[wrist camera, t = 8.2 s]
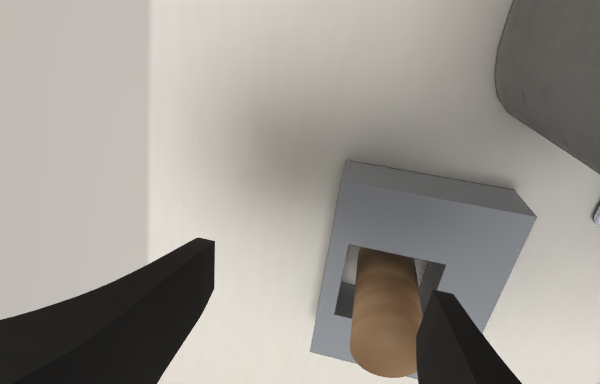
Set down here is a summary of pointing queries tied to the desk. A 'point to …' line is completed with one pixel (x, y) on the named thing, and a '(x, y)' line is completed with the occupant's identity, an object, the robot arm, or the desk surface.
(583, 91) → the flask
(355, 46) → the desk surface
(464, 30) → the desk surface
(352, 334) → the walnut dowel
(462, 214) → the socket board
